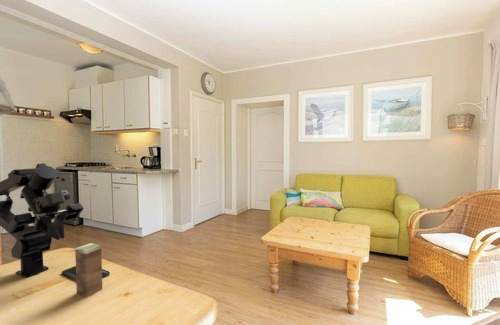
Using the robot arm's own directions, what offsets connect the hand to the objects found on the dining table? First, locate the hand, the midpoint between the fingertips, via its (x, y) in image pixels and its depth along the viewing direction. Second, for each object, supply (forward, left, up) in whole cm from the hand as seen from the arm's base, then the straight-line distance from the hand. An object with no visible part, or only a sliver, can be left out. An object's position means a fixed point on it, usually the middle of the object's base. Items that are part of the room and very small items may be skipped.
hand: (61, 238), depth 77 cm
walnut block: (+13, 0, -14) cm, 19 cm away
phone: (+2, +6, -14) cm, 16 cm away
